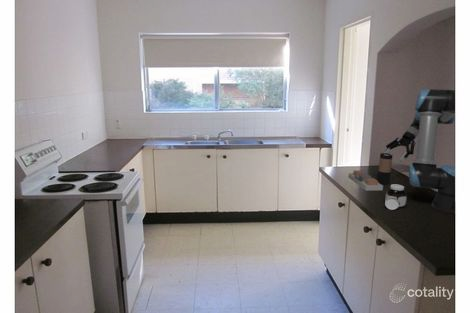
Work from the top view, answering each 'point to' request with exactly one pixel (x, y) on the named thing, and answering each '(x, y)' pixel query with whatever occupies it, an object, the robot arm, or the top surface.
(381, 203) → the top surface
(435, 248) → the top surface
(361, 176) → the middle key
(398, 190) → the spread jar
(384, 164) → the travel mug
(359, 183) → the grey tray
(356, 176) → the key
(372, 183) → the key
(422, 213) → the top surface
